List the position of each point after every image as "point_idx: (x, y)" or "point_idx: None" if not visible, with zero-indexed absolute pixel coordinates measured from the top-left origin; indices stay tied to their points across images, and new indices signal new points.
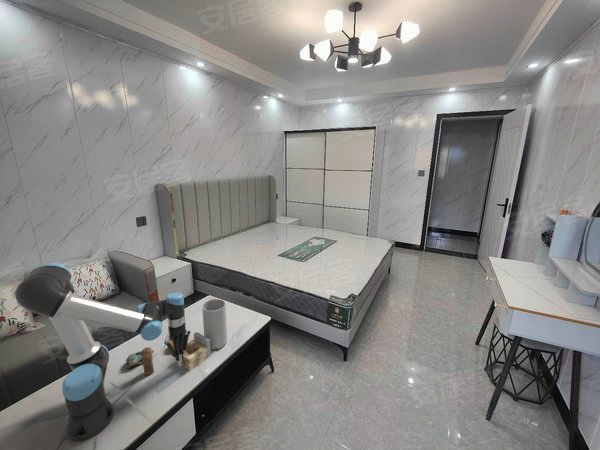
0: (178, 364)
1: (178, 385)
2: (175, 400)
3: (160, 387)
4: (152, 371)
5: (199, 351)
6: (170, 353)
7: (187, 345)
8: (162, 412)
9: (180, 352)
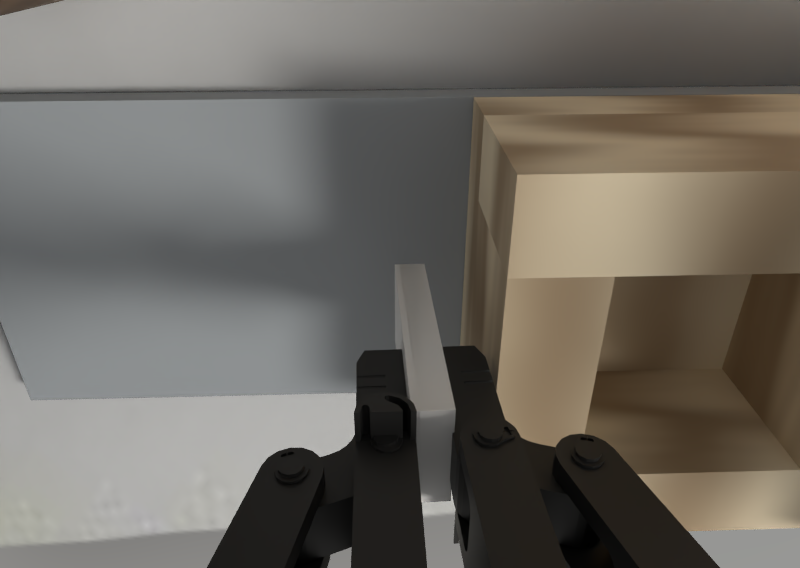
0: (395, 302)
1: (259, 422)
2: (154, 525)
3: (72, 343)
4: (38, 4)
5: (711, 517)
6: (237, 516)
7: (781, 234)
8: (17, 538)
9: (456, 511)
